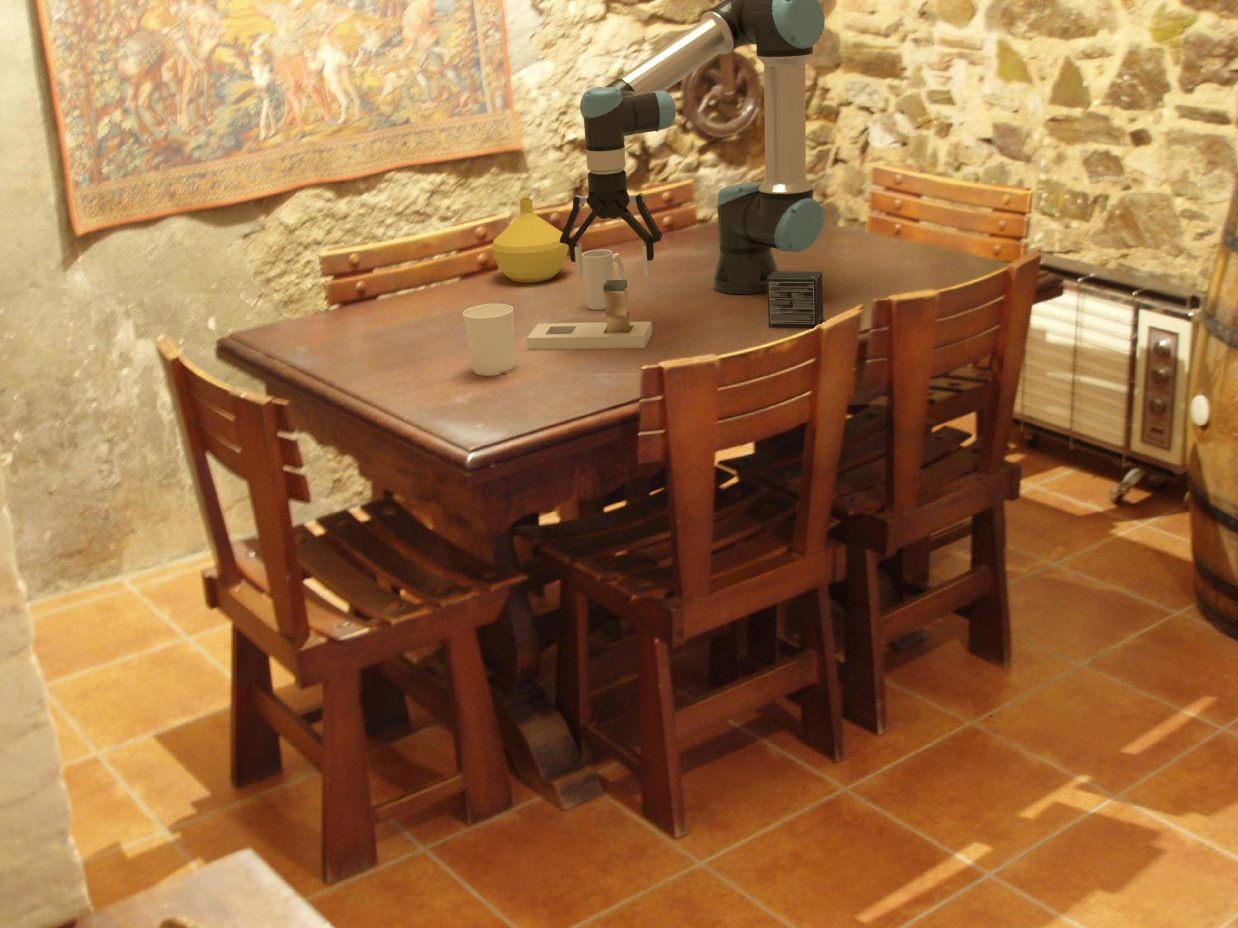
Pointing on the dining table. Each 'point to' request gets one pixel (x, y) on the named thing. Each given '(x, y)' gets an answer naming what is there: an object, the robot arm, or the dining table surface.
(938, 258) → the dining table surface
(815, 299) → the small box
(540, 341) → the panel
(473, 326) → the beige cup
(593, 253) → the mug
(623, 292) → the plug
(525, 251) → the vase
